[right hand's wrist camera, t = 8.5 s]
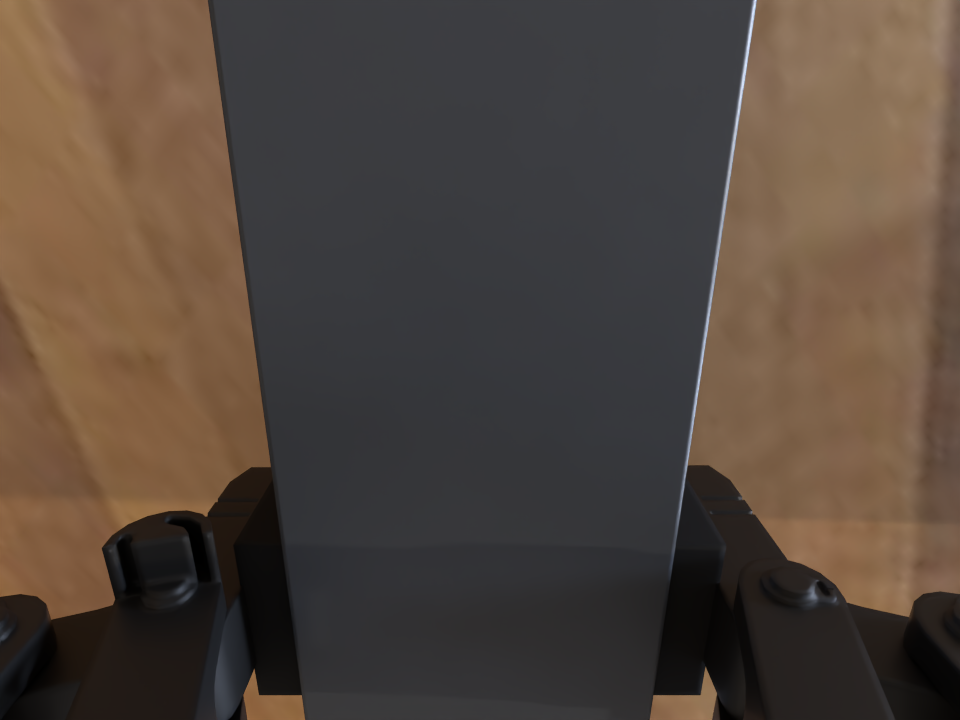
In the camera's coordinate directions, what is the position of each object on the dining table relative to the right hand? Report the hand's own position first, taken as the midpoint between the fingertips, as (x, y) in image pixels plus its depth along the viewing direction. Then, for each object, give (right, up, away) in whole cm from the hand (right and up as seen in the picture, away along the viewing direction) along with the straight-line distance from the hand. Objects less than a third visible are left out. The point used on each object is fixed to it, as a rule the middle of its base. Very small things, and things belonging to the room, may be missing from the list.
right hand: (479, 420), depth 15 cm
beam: (0, +19, -7) cm, 20 cm away
